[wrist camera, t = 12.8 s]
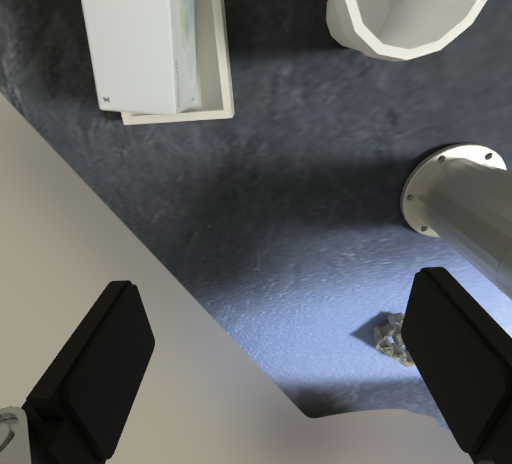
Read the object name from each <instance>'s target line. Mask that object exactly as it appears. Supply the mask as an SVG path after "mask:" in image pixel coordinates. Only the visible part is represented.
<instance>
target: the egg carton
mask: <svg viewBox="0 0 512 464" xmlns="http://www.w3.org/2000/svg"><path fill="white" fill-rule="evenodd" d="M404 315H405V314H403V313H399V314H390V315H389V316H388V317H387V318H388V320H389V321H388V323H387V324H386V325H384V326H376V327H375V328H373V330H374V334H373V337H374V339H375V341H376V344H377V346H376V348H375V349H377V350H379V351H382V352H383V353H386V354H387V355H388V357H391V358H393V359H394V360H397V361H398V362H400V363H401V364H402V365H404V366H406V367H411V366H414V365H415V363H414V361H413V359H412V357H411V356H410V354H409V352H408V350H406V351H404V349H403V348H402V345H404V343H403V340H402V338H401V327H402V326H401V325H402V323H403V319H404ZM396 323H398V324H396ZM395 324H396V325H395ZM399 324H400V325H399ZM388 336H390V337H391V336H392V338H393V340H394V342H395V343H393V344H391V343H390V341H389V339H388Z"/></svg>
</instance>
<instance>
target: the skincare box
mask: <svg viewBox="0 0 512 464" xmlns="http://www.w3.org/2000/svg"><path fill="white" fill-rule="evenodd" d="M81 3H82V9H83V15H84V20H85V26H86V32H87V37H88V43H89V49H90V55H91V61H92V67H93V74H94V80H95V86H96V92H97V98H98V104H99V108H100V109H101V110H107V111H118V112H131V113H143V114H155V115H170V116H175V115H176V114H178V113H180V112H182V111H184V110H186V109H188V108H190V107H192V106H194V105H196V104H197V83H196V34H195V0H81Z"/></svg>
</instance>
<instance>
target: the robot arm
mask: <svg viewBox="0 0 512 464" xmlns="http://www.w3.org/2000/svg"><path fill="white" fill-rule="evenodd" d="M400 207H401V212H402V215H403V217H404V219H405V220H406V222H407V223H408V224H409V225H410V226H411V227H412V228H413V229H414V230H415V231H417V232H419V233H421V234H423V235H427V236H431V237H441V238H442V239H444V240H445V241H446V242H447V243H448V244H449V245H450V246H451V247H453V248H454V249H455V250H456V251H457V252H458V253H459V254H460V255H461V256H463V257H464V258H465V259H466V260H467V261H468V262H469V263H470V264H471V265H473V266H474V267H475V268H476V269H477V270H478V271H479V272H480V273H482V274H483V275H484V276H485V277H486V278H487V279H488V280H489V281H490V282H492V283H493V284H494V285H495V286H496V287H497V288H498V289H499V290H501V291H502V292H503V293H504V294H505V295H506V296H507V297H509V298H510V299H511V300H512V172H509V171H507V169H506V165H505V163H504V161H503V159H502V158H501V156H500V155H499V154H498V153H497V152H495V151H494V150H492V149H490V148H488V147H486V146H482V145H479V144H473V143H460V144H455V145H451V146H447V147H445V148H442V149H440V150H438V151H436V152H434V153H433V154H431V155H429V156H428V157H427V158H425V159H424V160H423V161H422V162H421V163H419V165H418V166H417V167H416V168H415V169H414V170H413V171H412V173H411V174H410V176H409V177H408V179H407V180H406V182H405V185H404V187H403V189H402V193H401V199H400ZM401 338H402V340H403V343H404V344H405V346H406V348H407V350H408V352H409V354H410V356H411V357H412V359H413V361H414V363H415V365H416V367H417V369H418V371H419V372H420V374H421V376H422V378H423V380H424V382H425V384H426V385H427V387H428V389H429V391H430V393H431V395H432V397H433V398H434V400H435V402H436V404H437V406H438V408H439V410H440V411H441V413H442V415H443V417H444V419H445V421H446V423H447V425H448V426H449V428H450V430H451V432H452V434H453V436H454V438H455V439H456V441H457V443H458V445H459V446H460V448H461V449H462V450H463V451H464V452H465V453H469V455H470V457H471V459H472V461H473V462H474V464H512V338H511V337H510V336H509V335H508V334H507V333H506V332H505V331H504V330H503V329H502V328H501V327H500V326H499V324H498V323H497V322H496V321H495V320H494V319H493V318H492V317H491V316H490V315H489V314H488V313H487V312H486V311H485V310H484V309H483V308H482V307H481V306H480V305H479V304H478V302H477V301H476V300H475V299H474V298H473V297H472V296H471V295H470V294H469V293H468V292H467V291H466V290H465V289H464V288H463V287H462V286H461V285H460V284H459V283H458V282H457V281H456V279H455V278H454V277H453V276H452V275H451V274H450V273H449V272H448V271H447V270H446V269H445V268H443V267H427V268H422V269H421V270H420V272H418V273H416V274H415V277H414V281H413V285H412V288H411V292H410V296H409V300H408V304H407V308H406V312H405V315H404V319H403V323H402V327H401ZM154 346H155V339H154V336H153V333H152V330H151V327H150V324H149V321H148V318H147V315H146V312H145V309H144V306H143V303H142V300H141V297H140V294H139V291H138V288H137V286H136V285H132V283H131V282H130V281H112V282H110V283H109V284H108V285H107V287H106V288H105V290H104V291H103V292H102V294H101V295H100V296H99V298H98V299H97V301H96V302H95V303H94V305H93V306H92V308H91V309H90V310H89V312H88V313H87V315H86V316H85V317H84V319H83V320H82V322H81V323H80V324H79V326H78V327H77V329H76V330H75V331H74V333H73V334H72V335H71V337H70V338H69V340H68V341H67V342H66V344H65V345H64V346H63V348H62V350H61V351H60V352H59V353H58V355H57V356H56V358H55V359H54V360H53V362H52V363H51V365H50V366H49V367H48V369H47V370H46V372H45V373H44V374H43V376H42V377H41V378H40V380H39V381H38V383H37V384H36V386H35V387H34V388H33V390H32V391H31V392H30V394H29V395H28V397H27V398H26V402H25V403H24V404H23V406H22V407H21V408H19V407H7V408H2V409H0V464H105V462H106V459H110V458H111V457H112V455H113V454H114V451H115V449H116V446H117V444H118V441H119V438H120V436H121V433H122V431H123V428H124V425H125V423H126V420H127V418H128V415H129V413H130V410H131V407H132V405H133V402H134V400H135V397H136V394H137V392H138V389H139V387H140V383H141V381H142V379H143V376H144V374H145V371H146V368H147V365H148V363H149V360H150V358H151V355H152V352H153V350H154Z"/></svg>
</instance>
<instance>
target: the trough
mask: <svg viewBox="0 0 512 464" xmlns="http://www.w3.org/2000/svg"><path fill="white" fill-rule="evenodd" d="M195 34H196V83H197V104H196V105H194V106H192V107H190V108H188V109H186V110H184V111H182V112H180V113H178V114H176V115H175V116H170V115H155V114H143V113H131V112H121V115H122V119H123V122H124V125H131V124H147V123H162V122H177V121H192V120H207V119H223V118H232V117H233V115H234V103H233V92H232V81H231V70H230V59H229V49H228V38H227V27H226V16H225V5H224V0H195Z"/></svg>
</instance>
